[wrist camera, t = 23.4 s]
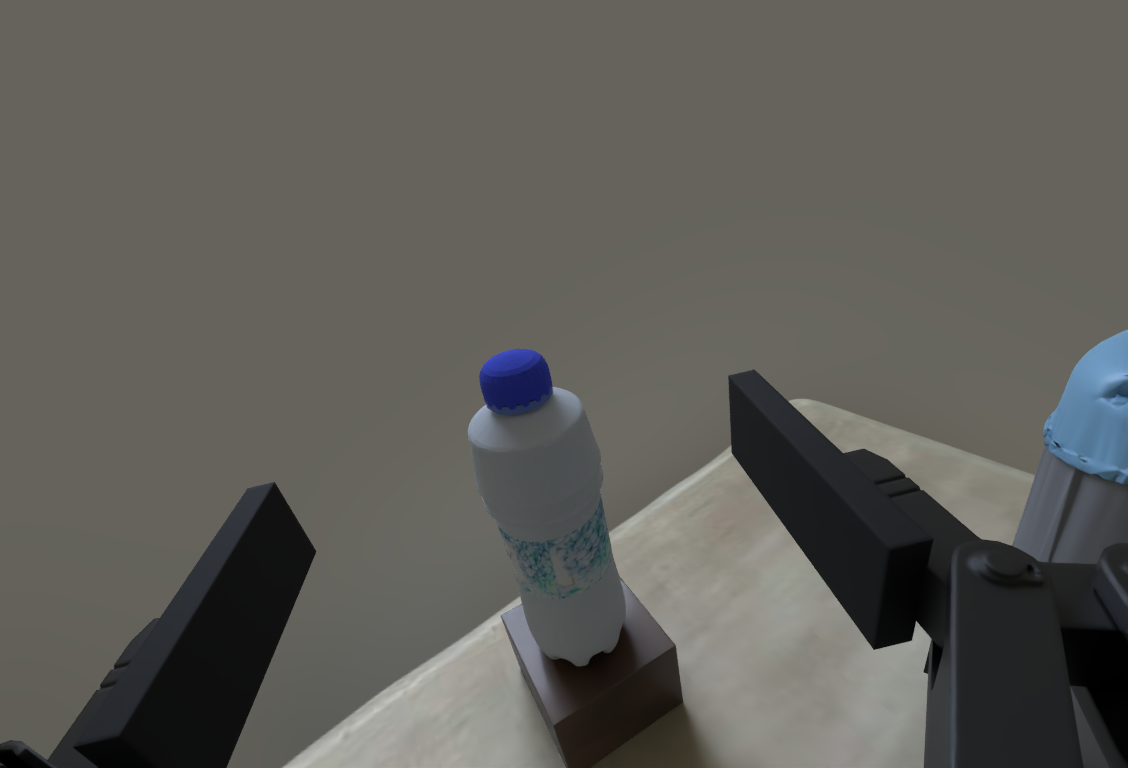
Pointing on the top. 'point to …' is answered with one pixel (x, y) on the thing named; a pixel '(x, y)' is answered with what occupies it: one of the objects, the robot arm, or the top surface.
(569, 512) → the bottle
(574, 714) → the block
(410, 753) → the top surface
